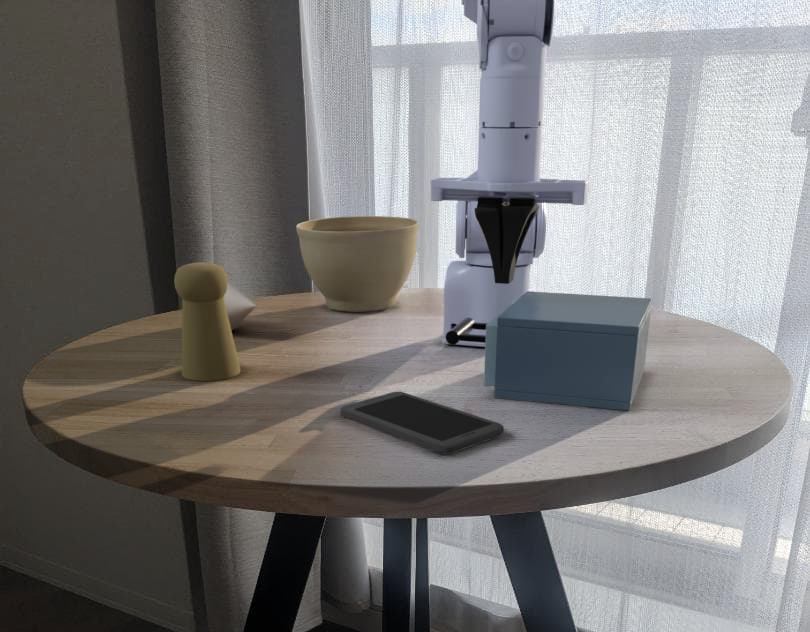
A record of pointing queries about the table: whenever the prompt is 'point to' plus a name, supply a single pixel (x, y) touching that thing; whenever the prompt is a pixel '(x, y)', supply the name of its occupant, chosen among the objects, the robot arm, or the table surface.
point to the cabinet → (572, 349)
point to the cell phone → (422, 422)
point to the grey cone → (237, 305)
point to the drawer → (489, 339)
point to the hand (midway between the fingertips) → (504, 281)
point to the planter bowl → (359, 259)
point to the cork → (205, 323)
